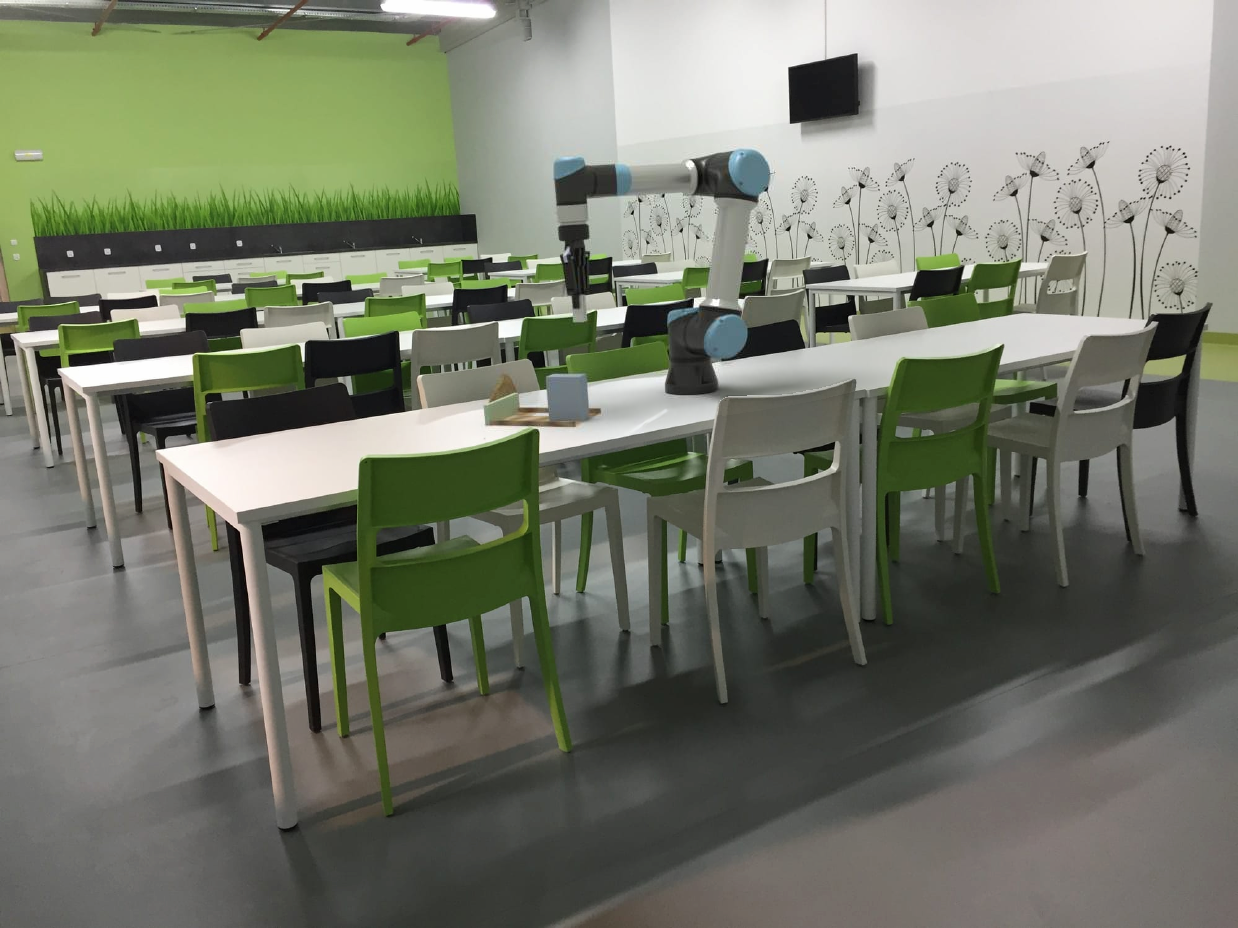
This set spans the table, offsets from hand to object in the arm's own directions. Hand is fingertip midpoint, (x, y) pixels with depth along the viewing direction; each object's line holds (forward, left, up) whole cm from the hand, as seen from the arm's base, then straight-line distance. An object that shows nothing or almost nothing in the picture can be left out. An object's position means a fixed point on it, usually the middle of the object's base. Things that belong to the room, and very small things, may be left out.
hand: (580, 321), depth 246 cm
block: (+3, +6, -23) cm, 24 cm away
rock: (+26, -12, -25) cm, 38 cm away
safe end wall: (+21, +3, -24) cm, 33 cm away
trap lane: (+9, +5, -24) cm, 27 cm away
